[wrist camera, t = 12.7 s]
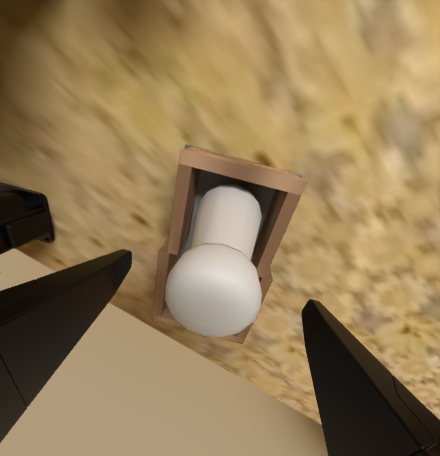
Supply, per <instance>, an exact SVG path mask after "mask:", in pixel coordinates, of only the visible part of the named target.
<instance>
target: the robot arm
mask: <svg viewBox="0 0 440 456" xmlns="http://www.w3.org/2000/svg"><path fill="white" fill-rule="evenodd" d="M35 239H36V240H40V241H44V242H48V243H50V242H52V241H53V240H54V237H53V232H52V227H51V222H50V217H49V212H48V207H47V201H46V197H45V196H44V195H43V194H42V193H38V192H35V191H31V190H27V189H23V188H19V187H16V186H12V185H8V184H4V183H1V182H0V254H2V253H5V252H7V251H9V250H11V249H13V248H14V249H15V248H18V247H20V246H22V245H24V244H26V243H28V242H30V241H33V240H35ZM131 265H132V252H131V251H129V250H125V249H122V250H119V251H116V252H113V253H110V254H107V255H104V256H101V257H98V258H95V259H93V260H90V261H87V262H84V263H81V264H78V265H75V266H72V267H69V268H67V269H64V270H61V271H58V272H55V273H52V274H49V275H46V276H44V277H40V278H38V279H36V280H32V281H29V282H26V283H23V284H20V285H17V286H14V287H11V288H8V289H5V290H2V291H0V443H1V441H2V440H3V439H4V437H5V436H6V435H7V434H8V432H9V431H10V430H11V428H12V427H13V426H14V424H15V423H16V422H17V420H18V419H19V418H20V417H21V415H22V414H23V413H24V411H25V410H26V409H27V407H28V406H29V405H30V403H31V402H32V401H33V399H34V398H35V397H36V396H37V394H38V393H39V392H40V390H41V389H42V388H43V386H44V385H45V384H46V383H47V381H48V380H49V379H50V378H51V376H52V375H53V374H54V372H55V371H56V370H57V368H58V367H59V366H60V365H61V363H62V362H63V361H64V359H65V358H66V357H67V355H68V354H69V353H70V351H71V350H72V349H73V348H74V346H75V345H76V344H77V342H78V341H79V340H80V339H81V337H82V336H83V335H84V333H85V332H86V331H87V330H88V328H89V327H90V326H91V324H92V323H93V322H94V320H95V319H96V318H97V317H98V315H99V314H100V313H101V311H102V310H103V309H104V308H105V306H106V305H107V304H108V302H109V301H110V300H111V298H112V297H113V296H114V294H115V293H116V291H117V289H118V288H119V286H120V285H121V283H122V281H123V280H124V278H125V276H126V275H127V273H128V272H129V270H130V268H131ZM302 323H303V332H304V341H305V348H306V353H307V358H308V362H309V367H310V372H311V376H312V381H313V386H314V390H315V395H316V400H317V404H318V409H319V414H320V418H321V423H322V428H323V432H324V437H325V442H326V446H327V451H328V456H440V420H439V419H438V418H437V417H436V416H435V415H434V414H433V413H432V412H431V411H430V410H429V409H427V408H426V407H425V406H424V405H423V404H422V403H421V402H420V401H419V400H418V399H417V398H416V397H415V396H414V395H413V394H412V393H411V392H410V391H409V390H408V389H407V388H406V387H405V386H404V385H403V384H402V383H401V382H400V381H399V380H398V379H397V378H396V377H395V376H393V375H392V374H391V372H390V371H389V370H388V369H387V368H386V367H385V366H384V365H383V364H381V363H380V362H379V361H378V360H377V359H376V358H375V357H374V356H373V355H372V354H371V353H370V352H369V351H368V350H367V349H366V348H365V347H364V346H363V345H362V344H361V343H360V342H359V341H358V340H357V339H356V338H355V337H354V336H353V335H352V334H351V333H350V332H349V331H348V330H347V329H346V328H345V327H344V326H343V325H342V324H341V323H340V322H339V321H338V320H337V319H336V318H335V317H334V316H333V315H332V314H331V313H330V312H329V311H328V310H327V309H326V308H325V307H324V306H323V305H322V304H321V303H320V302H319V301H316V300H313V299H310V300H309V301H308V302H307V304H306V305H305V307H304V308H303V310H302Z"/></svg>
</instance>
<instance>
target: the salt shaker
mask: <svg viewBox="0 0 440 456" xmlns="http://www.w3.org/2000/svg"><path fill="white" fill-rule="evenodd" d="M261 218H262V215H261V211H260V206H259V202H258V201H257V200H256V199H255V197H254V196H253V195H252V194H251V192H250V191H249V190H247V189H245V188H242V187H240V186H238V185H236V184H228V185H219V186H217V187H215V188H214V189H212V190H210V191H208V192H207V193H206V194H205V195H204V197H203V198H202V200H201V201H200V202H199V204H198V211H197V217H196V223H195V229H194V235H193V242H192V248H191V249H190V250H188V251H186V252H185V253H184V254H183V255H182V256H181V258H180V259H179V260H178V261H177V263H176V264H175V265H174V267H173V268H172V270H171V271H170V273H169V275H168V278H167V282H166V289H165V302H166V304H167V306H168V308H169V310H170V312H171V314H172V315H173V317H174V318H175V320H176V321H178V322H179V323H180V324H181V325H183V326H184V327H185V328H186V329H188V330H190V331H192V332H195V333H197V334H200V335H202V336H209V337H224V336H229V335H233V334H237V333H239V332H240V331H242V330H243V329H245V328H246V327H247V326H248V325H250V324H251V323H252V322H254V321H255V318H256V316H257V314H258V311H259V309H260V306H261V299H262V292H261V287H260V282H259V278H258V274H257V270H256V267H255V266H254V265H253V263H252V262H251V257H252V253H253V249H254V246H255V242H256V238H257V234H258V230H259V226H260V222H261Z"/></svg>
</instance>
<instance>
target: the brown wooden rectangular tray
mask: <svg viewBox="0 0 440 456" xmlns="http://www.w3.org/2000/svg"><path fill="white" fill-rule="evenodd" d="M301 177H302V175H300V174H297V173H293V172H289V171H285V170H281V169H278V168H274V167H270V166H266V165H262V164H259V163H255V162H251V161H247V160H243V159H240V158H236V157H232V156H228V155H224V154H221V153H217V152H213V151H209V150H205V149H202V148H198V147H194V146H190V145H185V149H181V150H180V158H179V165H178V173H177V181H176V189H175V197H174V204H173V212H172V220H171V228H170V236H169V238H168V239H167V241H166V242H165V243H164V245H163V246H162V247H161V249H160V250H159V256H158V265H157V275H156V285H155V294H154V304H153V314H152V320H154V321H157V322H161V323H165V324H169V325H173V326H176V327H180V328H184V329H186V328H185V327H184V326H183V325H181V324H180V323H179V322H178V321H176V320H175V318H174V317H173V315H172V314H171V312H170V310H169V308H168V306H167V304H166V302H165V289H166V282H167V278H168V275H169V273H170V271H171V270H172V268H173V267H174V265H175V264H176V263H177V261H178V260H179V259H180V258H181V256H182V255H183V254H184V253H185V252H186V251H188V250H190V249H191V248H192V242H193V235H194V229H195V223H196V217H197V211H198V204H199V202H200V201H201V200H202V198H203V197H204V195H205V194H206V193H207V192H208V191H210V190H212V189H214V188H215V187H217V186H219V185H228V184H236V185H238V186H240V187H242V188H245V189H247V190H249V191H250V192H251V194H252V195H253V196H254V197H255V199H256V200H257V201H258V202H259V206H260V211H261V215H262V218H261V222H260V226H259V230H258V234H257V238H256V242H255V246H254V249H253V253H252V257H251V262H252V263H253V265H254V266H255V267H256V270H257V274H258V278H259V282H260V287H261V292H262V299H261V304H262V302H263V300H264V298H265V296H266V294H267V292H268V289H269V287H270V285H271V283H272V281H273V280H272V275H271V270H270V265H271V262H272V260H273V258H274V256H275V253H276V251H277V249H278V247H279V244H280V242H281V240H282V238H283V235H284V233H285V231H286V229H287V226H288V224H289V222H290V220H291V217H292V215H293V213H294V211H295V208H296V206H297V204H298V202H299V199H300V197H301V195H302V193H303V190H304V188H305V186H306V184H307V182H306V181H304V180H303V179H301ZM252 323H253V322H252ZM252 323H251V324H250V325H248V326H247V327H246V328H245V329H243V330H242V331H240V332H239V333H237V334H233V335H229V336H224V337H218V338H221V339H225V340H229V341H233V342H237V343H240V344H243V342H244V340H245V338H246V336H247V334H248V332H249V330H250V327H251V325H252Z"/></svg>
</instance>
